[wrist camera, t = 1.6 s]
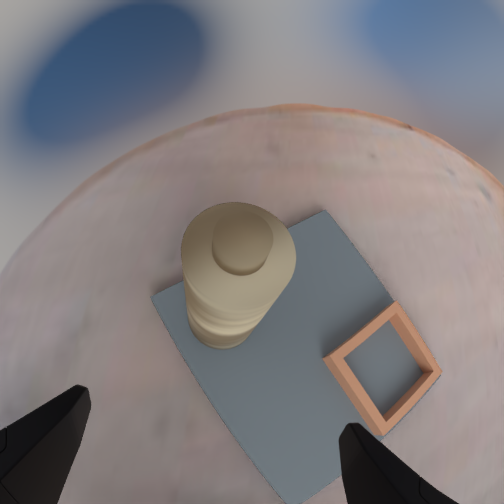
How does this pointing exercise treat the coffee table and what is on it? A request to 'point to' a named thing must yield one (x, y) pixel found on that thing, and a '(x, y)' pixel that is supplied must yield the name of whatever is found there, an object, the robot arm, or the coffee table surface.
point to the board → (311, 363)
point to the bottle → (233, 271)
